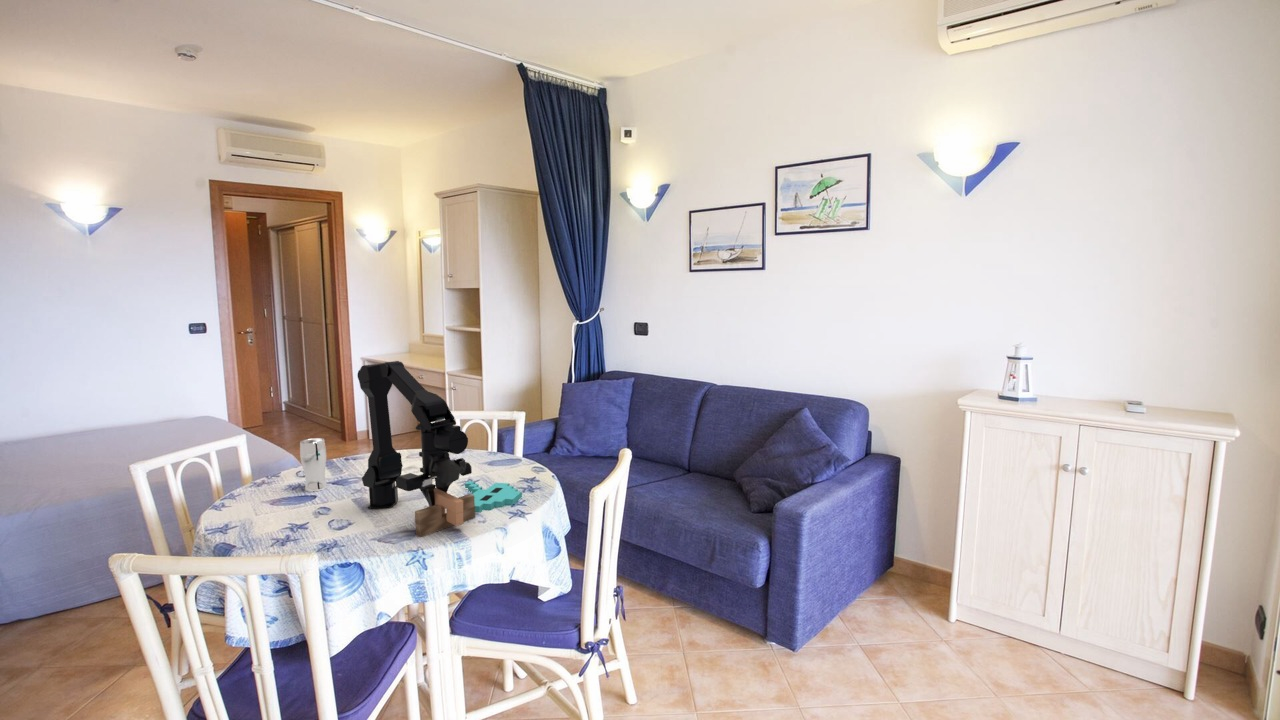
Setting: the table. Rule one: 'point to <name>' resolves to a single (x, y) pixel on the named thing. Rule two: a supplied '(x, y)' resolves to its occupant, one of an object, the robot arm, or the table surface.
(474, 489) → the alien figure
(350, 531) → the table surface
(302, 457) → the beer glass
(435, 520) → the notched wooden block
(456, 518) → the terracotta u-shaped block
